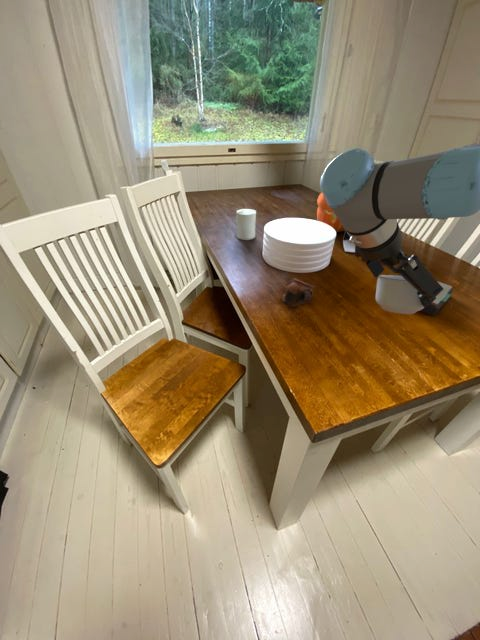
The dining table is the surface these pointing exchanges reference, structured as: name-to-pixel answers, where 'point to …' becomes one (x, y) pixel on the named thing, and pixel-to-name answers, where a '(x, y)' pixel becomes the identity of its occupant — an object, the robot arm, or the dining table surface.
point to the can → (246, 224)
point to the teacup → (397, 295)
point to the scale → (438, 300)
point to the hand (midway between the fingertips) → (402, 286)
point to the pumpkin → (327, 214)
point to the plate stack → (298, 244)
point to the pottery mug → (293, 290)
